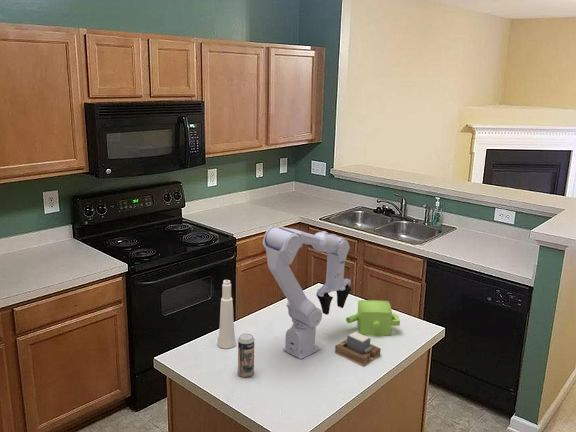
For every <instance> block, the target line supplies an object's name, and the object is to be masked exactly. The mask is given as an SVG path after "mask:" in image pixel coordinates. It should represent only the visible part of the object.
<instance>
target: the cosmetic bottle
mask: <svg viewBox="0 0 576 432" xmlns="http://www.w3.org/2000/svg"><path fill="white" fill-rule="evenodd" d="M222 282H223V283H222V285H221V286H222V287H221V288H222V289H221V291H222V292H221V294H222V297H221V298H220V309H219V310H220V314H219V326H218V327H219V328H218V329H219V330H218V337H217V343H216V345H217V347H219V348H220V349H224V350H228V349H233V348H234V347H236V345H237V342H236V341H237V340H236V335H235V323H234V321H235V320H234V304H233V302H234V301H233V300H234V299H233V297H232V283H231V280H229V279H224V280H223V281H222Z"/></svg>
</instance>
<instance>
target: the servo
mask: <svg viewBox="0 0 576 432" xmlns="http://www.w3.org/2000/svg"><path fill="white" fill-rule="evenodd" d="M346 336H347V337H346V339H347V340H346V339H345V340H346V341H345V340H344V341H345V344H347V348H348V349H350V350H353V351H355V352H357V353H359V354H361V355H364V354H365V353H368V354H369V351H371V350H372V347H370V344H371V338H370V337H368V336H367V335H361V334H360V333H359V332H357V331H354V332H352V333H350V334H348V335H346Z"/></svg>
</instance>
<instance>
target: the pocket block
mask: <svg viewBox="0 0 576 432" xmlns="http://www.w3.org/2000/svg"><path fill="white" fill-rule="evenodd" d="M346 340H347V338H346V339H344V340H343V341H341V342H339V343H336V344H335V346H334V347H335V348H334V353H335V354H336V355H338V356H341V357H343V358H345V359H347V360H349V361H351V362H353V363H354V364H357V365H358V366H362V367H364V366H366V365H368V364H369V363H371V362H372V361H374V360H376V359H377V358H379V357H381V351H382V350H381V348H380V347H378V346H376V345H374V344H372V343H370V347H372V350H371V351H369V354H368V353H365V354H364V355H361V354H359V353H357V352H355V351H353V350H350V349H348V348H347V344H345V341H346Z"/></svg>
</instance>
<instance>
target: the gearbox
mask: <svg viewBox="0 0 576 432" xmlns="http://www.w3.org/2000/svg"><path fill="white" fill-rule="evenodd" d="M345 320H346V323H347V324H352V323H355V322H356V324H357V330H358V333H359V334H361V335H364V336H379V337H380V336H383V337H384V336H385V337H386V336H391V333H392V327H396V326H400V325H401V319H400V316H399V314H395V313H393V310H392V306H391V304H390V301H389V300H379V299H378V300H374V299H373V300H372V299H371V300H369V299H368V300H365V299H363V300H358V301H357V313H355V314H352V315H350V316H347V317H346V318H345Z"/></svg>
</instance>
